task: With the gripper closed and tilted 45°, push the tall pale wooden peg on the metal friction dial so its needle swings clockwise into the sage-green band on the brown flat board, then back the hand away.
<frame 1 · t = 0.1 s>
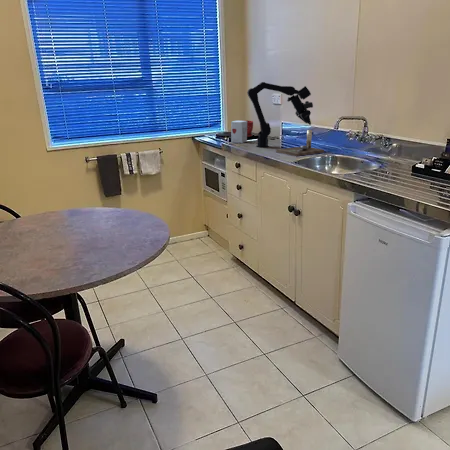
hand: (308, 123, 286), 15 cm above the table, tool tilted 35°, fingers open, 9 cm apart
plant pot: (244, 136, 338), on the table
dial: (304, 140, 264), point 8 cm above the table, hinge at 0.0°
brown flat board: (300, 152, 268), on the table
supplement box: (239, 142, 311), on the table
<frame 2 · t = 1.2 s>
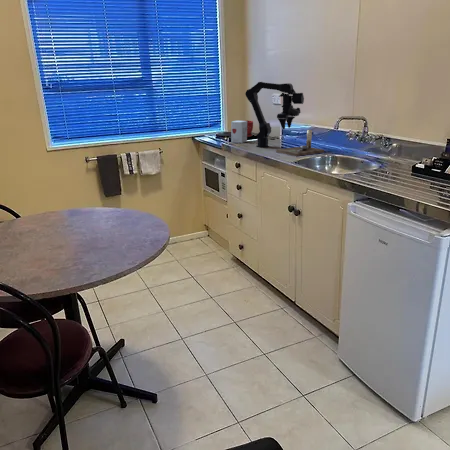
hand: (286, 128, 278), 13 cm above the table, tool pointing down, fingers open, 9 cm apart
nothing on the table moved.
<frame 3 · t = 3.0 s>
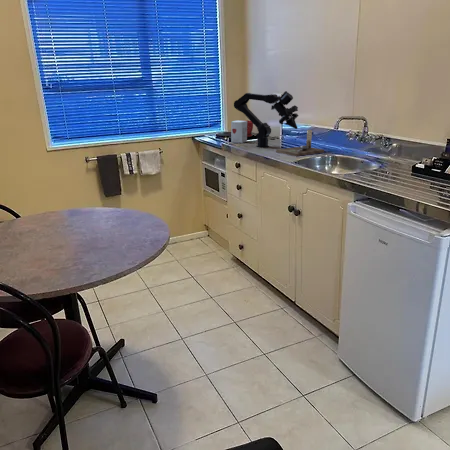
hand: (296, 128, 272), 14 cm above the table, tool tilted 45°, fingers closed
nothing on the table moved.
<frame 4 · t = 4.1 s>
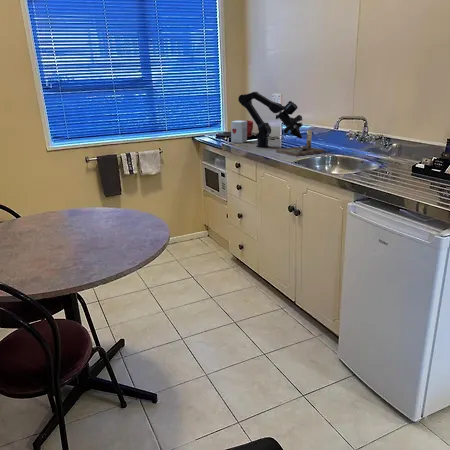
hand: (301, 137, 273), 8 cm above the table, tool tilted 45°, fingers closed
nothing on the table moved.
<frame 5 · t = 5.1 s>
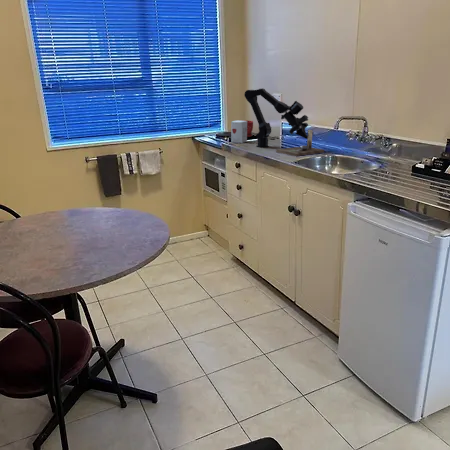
hand: (307, 138, 271), 8 cm above the table, tool tilted 45°, fingers closed, pressing on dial
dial: (304, 140, 264), point 8 cm above the table, hinge at 3.2°, touching gripper
everything else where it was.
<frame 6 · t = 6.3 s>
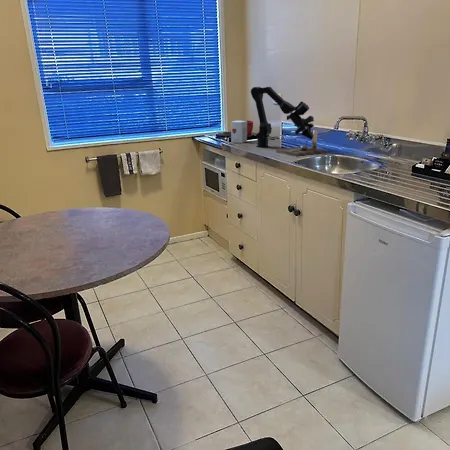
hand: (312, 139, 269), 8 cm above the table, tool tilted 45°, fingers closed
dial: (304, 140, 264), point 8 cm above the table, hinge at 31.4°
everything else where it was.
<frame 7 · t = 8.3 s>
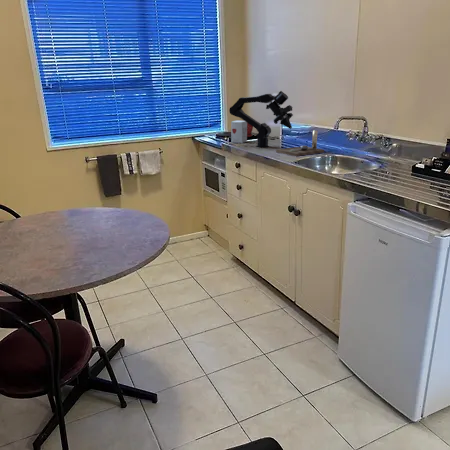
hand: (291, 128, 275), 13 cm above the table, tool tilted 45°, fingers closed
nothing on the table moved.
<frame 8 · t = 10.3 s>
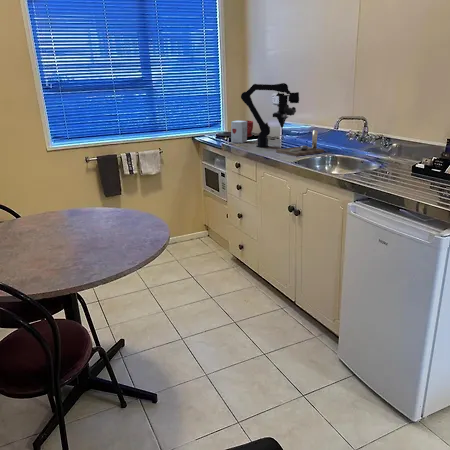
hand: (282, 127, 284), 13 cm above the table, tool pointing down, fingers closed
nothing on the table moved.
at the end: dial at +31° (first picture: +0°) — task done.
